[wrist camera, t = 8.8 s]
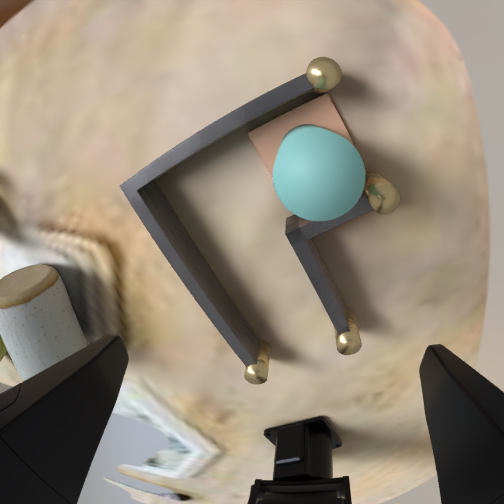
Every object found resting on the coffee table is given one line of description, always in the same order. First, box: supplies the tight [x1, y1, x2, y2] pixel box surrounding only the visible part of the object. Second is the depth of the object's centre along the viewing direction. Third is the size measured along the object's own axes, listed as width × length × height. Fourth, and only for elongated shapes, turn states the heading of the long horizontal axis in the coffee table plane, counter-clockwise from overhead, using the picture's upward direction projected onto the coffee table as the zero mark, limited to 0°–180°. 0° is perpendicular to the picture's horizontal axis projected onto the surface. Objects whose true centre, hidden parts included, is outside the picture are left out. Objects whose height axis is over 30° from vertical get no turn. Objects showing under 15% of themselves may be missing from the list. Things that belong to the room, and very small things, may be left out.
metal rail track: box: [120, 57, 400, 384], centre depth 18 cm, size 16×14×3 cm
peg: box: [273, 124, 365, 221], centre depth 13 cm, size 3×3×7 cm
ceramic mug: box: [0, 265, 88, 380], centre depth 21 cm, size 11×8×8 cm
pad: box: [247, 94, 367, 178], centre depth 17 cm, size 5×5×1 cm
